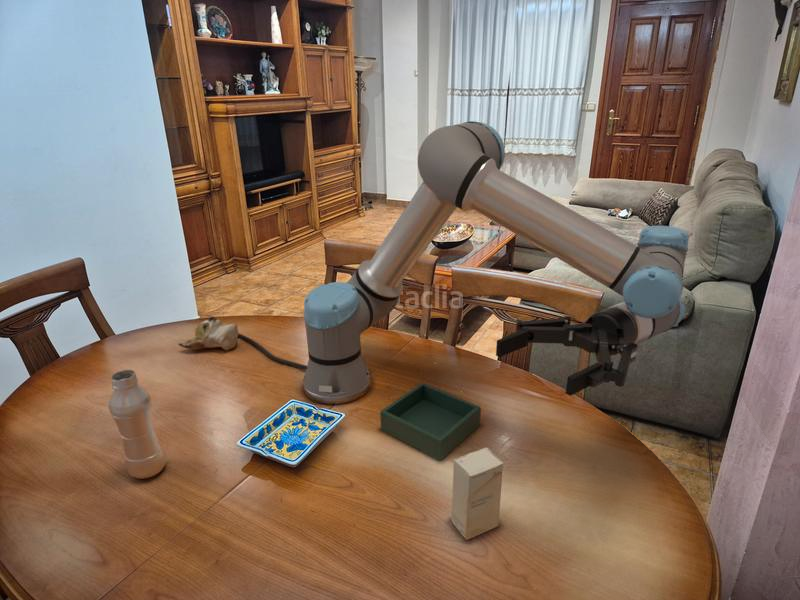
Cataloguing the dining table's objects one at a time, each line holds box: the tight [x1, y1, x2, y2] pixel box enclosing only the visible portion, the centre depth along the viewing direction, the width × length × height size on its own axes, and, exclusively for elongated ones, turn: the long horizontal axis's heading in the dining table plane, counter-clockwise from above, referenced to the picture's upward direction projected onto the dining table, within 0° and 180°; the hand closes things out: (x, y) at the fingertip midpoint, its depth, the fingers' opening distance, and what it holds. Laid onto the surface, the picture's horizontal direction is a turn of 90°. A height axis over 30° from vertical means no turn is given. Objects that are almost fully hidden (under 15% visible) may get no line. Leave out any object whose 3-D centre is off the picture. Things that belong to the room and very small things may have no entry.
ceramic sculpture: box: [178, 317, 239, 351], centre depth 135 cm, size 11×9×15 cm
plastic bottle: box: [108, 369, 167, 480], centre depth 88 cm, size 6×7×20 cm
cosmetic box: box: [451, 447, 504, 541], centre depth 78 cm, size 6×4×12 cm
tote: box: [379, 382, 482, 462], centre depth 102 cm, size 15×14×4 cm
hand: (530, 366), depth 75 cm, fingers open, 13 cm apart
